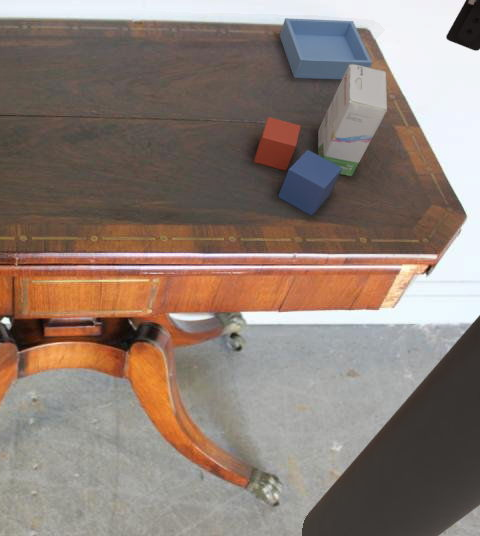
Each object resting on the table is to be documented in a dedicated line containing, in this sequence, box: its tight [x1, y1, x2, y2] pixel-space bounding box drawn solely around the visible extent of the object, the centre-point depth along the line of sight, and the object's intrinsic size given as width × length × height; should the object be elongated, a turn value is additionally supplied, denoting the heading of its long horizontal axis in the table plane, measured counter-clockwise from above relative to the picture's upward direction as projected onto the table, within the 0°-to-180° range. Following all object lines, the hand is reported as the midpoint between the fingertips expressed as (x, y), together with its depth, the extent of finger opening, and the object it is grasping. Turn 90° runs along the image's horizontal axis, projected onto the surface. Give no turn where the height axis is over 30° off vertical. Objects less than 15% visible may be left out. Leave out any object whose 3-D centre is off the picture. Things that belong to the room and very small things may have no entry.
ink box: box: [317, 64, 388, 177], centre depth 95 cm, size 9×5×12 cm, turn 167°
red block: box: [253, 116, 302, 172], centre depth 97 cm, size 4×4×4 cm
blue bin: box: [279, 17, 373, 81], centre depth 113 cm, size 11×11×3 cm
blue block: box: [278, 149, 342, 217], centre depth 92 cm, size 5×5×5 cm
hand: (474, 21), depth 70 cm, fingers open, 9 cm apart
